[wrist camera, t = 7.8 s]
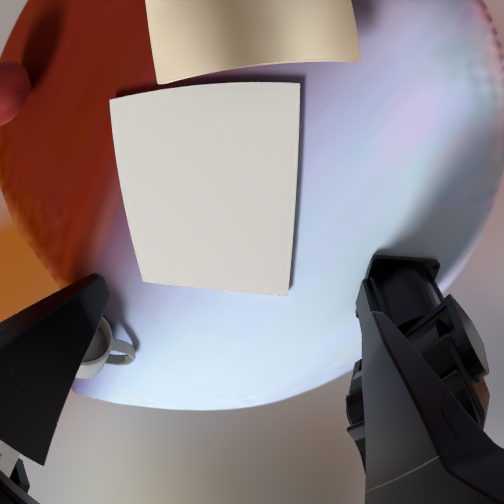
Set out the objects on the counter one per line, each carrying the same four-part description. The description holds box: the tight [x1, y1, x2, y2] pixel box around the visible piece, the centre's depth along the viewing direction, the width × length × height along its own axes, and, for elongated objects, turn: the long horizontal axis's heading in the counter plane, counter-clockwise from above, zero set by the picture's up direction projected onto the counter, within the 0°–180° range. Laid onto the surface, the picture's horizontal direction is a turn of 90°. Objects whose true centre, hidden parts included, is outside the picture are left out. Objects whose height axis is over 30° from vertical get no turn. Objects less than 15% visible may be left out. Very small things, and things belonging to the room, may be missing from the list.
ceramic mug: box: [76, 316, 135, 379], centre depth 28 cm, size 11×8×8 cm
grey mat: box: [110, 82, 300, 296], centre depth 19 cm, size 13×16×1 cm
